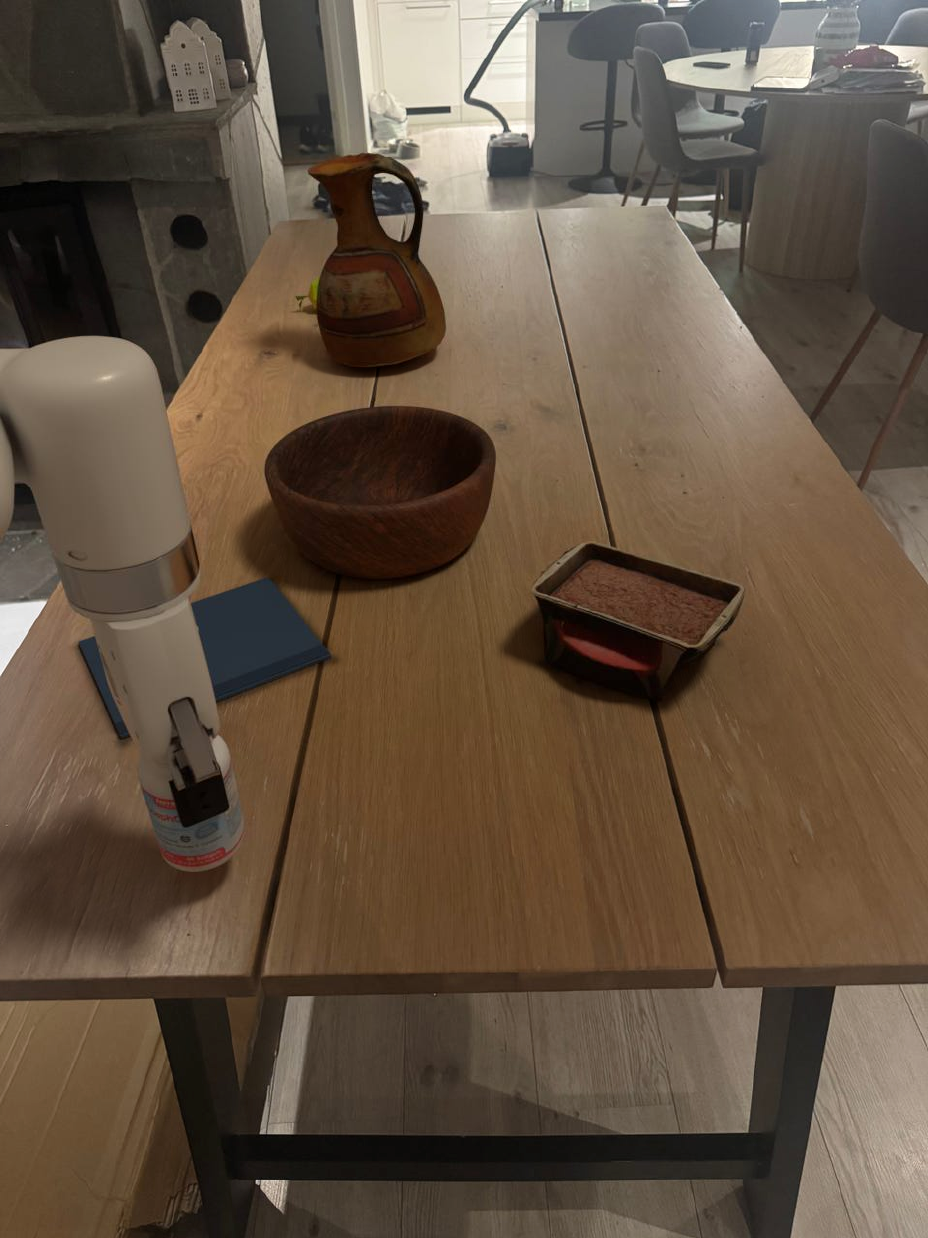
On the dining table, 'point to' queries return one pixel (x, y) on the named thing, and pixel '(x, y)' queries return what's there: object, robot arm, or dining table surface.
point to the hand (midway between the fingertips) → (188, 782)
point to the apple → (311, 294)
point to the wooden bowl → (382, 489)
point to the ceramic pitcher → (374, 272)
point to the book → (237, 642)
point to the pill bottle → (200, 841)
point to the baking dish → (629, 616)
